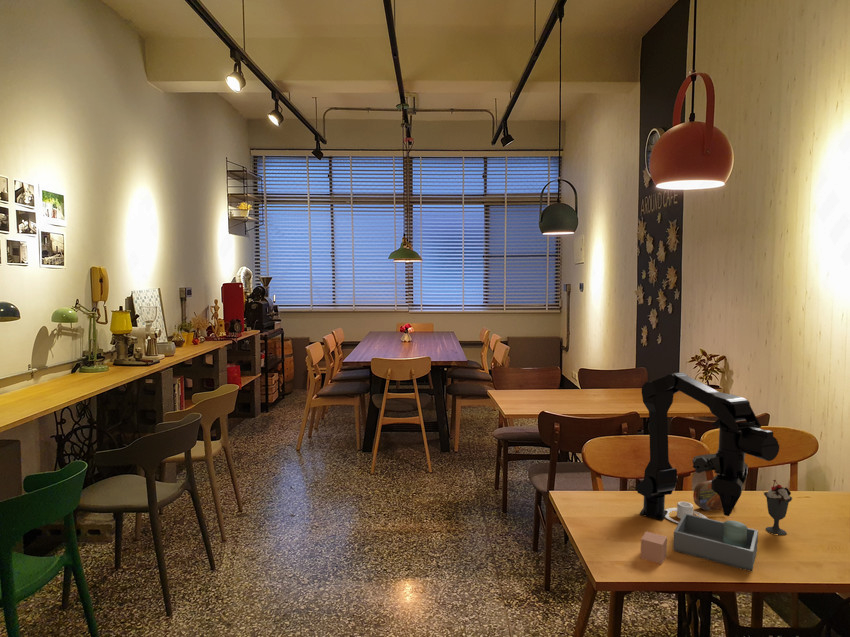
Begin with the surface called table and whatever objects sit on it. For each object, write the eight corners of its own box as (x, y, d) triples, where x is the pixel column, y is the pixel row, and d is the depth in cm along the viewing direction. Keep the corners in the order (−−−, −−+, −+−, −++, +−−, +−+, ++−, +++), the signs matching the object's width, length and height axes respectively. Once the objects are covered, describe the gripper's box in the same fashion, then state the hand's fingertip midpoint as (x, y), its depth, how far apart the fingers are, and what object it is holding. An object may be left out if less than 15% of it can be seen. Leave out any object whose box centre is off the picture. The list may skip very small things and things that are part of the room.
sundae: (762, 534, 148) (765, 480, 147) (760, 524, 154) (763, 472, 153) (791, 539, 145) (794, 484, 144) (788, 529, 151) (791, 476, 150)
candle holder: (716, 528, 152) (717, 513, 152) (673, 528, 152) (673, 513, 152) (696, 510, 164) (696, 496, 164) (656, 509, 164) (656, 495, 164)
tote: (683, 530, 150) (684, 513, 150) (757, 549, 140) (758, 530, 139) (673, 550, 139) (673, 531, 139) (752, 571, 129) (753, 551, 129)
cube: (645, 550, 139) (646, 531, 139) (666, 556, 137) (667, 536, 136) (640, 558, 135) (641, 539, 135) (661, 564, 132) (662, 544, 132)
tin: (698, 512, 162) (699, 485, 161) (690, 508, 165) (691, 481, 164) (739, 506, 166) (740, 480, 165) (731, 502, 169) (732, 476, 168)
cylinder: (724, 545, 140) (725, 518, 140) (746, 550, 137) (747, 524, 137) (721, 552, 136) (722, 525, 136) (744, 559, 133) (745, 531, 133)
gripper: (701, 433, 147) (699, 489, 148) (689, 451, 132) (686, 514, 133) (749, 440, 141) (746, 499, 142) (742, 460, 125) (739, 526, 127)
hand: (728, 508), depth 136 cm, fingers open, 9 cm apart
